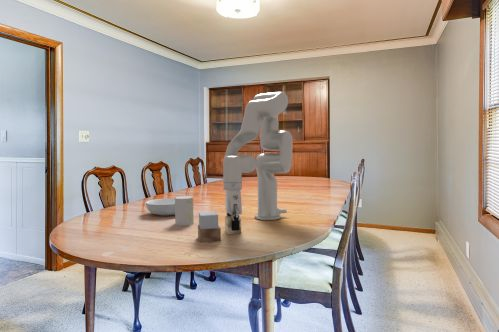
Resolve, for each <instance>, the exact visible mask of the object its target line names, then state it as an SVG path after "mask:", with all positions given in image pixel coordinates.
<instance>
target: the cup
mask: <svg viewBox="0 0 499 332" xmlns="http://www.w3.org/2000/svg"><path fill="white" fill-rule="evenodd" d="M174 199H175V214H174V217H175V220H174V221H175V225H176V226H180V227H181V226H182V227H183V226H184V227H185V226H191V225H194V221H195V220H194V196H191V195H181V196H176V197H175V196H174Z"/></svg>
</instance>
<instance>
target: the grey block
mask: <svg viewBox="0 0 499 332" xmlns="http://www.w3.org/2000/svg"><path fill="white" fill-rule="evenodd" d="M198 225H199V226H200V229H213V228H218V225H219V214H218V213H217V211H216V210H215V211H200V212H198Z"/></svg>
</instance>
